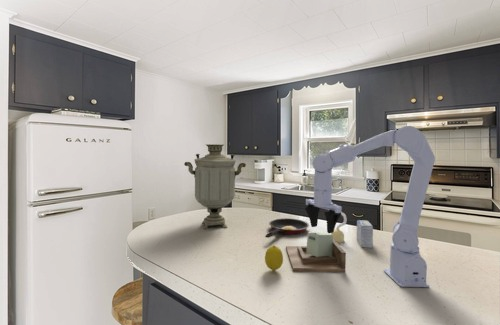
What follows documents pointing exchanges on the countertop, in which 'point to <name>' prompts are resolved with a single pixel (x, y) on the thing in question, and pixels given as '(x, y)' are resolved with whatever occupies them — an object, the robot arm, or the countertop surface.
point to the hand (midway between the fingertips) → (322, 229)
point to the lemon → (273, 258)
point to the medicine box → (364, 234)
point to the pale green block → (319, 244)
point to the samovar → (214, 182)
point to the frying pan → (287, 226)
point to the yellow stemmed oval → (339, 231)
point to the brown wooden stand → (317, 259)
